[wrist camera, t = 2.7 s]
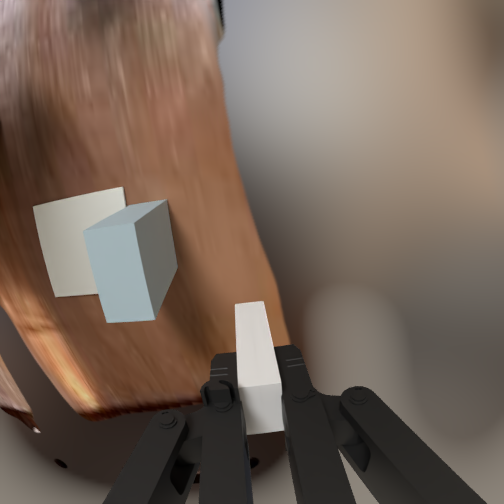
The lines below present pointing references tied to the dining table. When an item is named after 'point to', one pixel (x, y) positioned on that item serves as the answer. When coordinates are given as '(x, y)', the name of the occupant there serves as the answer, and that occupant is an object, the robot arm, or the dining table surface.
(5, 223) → the dining table surface
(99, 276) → the slab
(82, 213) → the mat
